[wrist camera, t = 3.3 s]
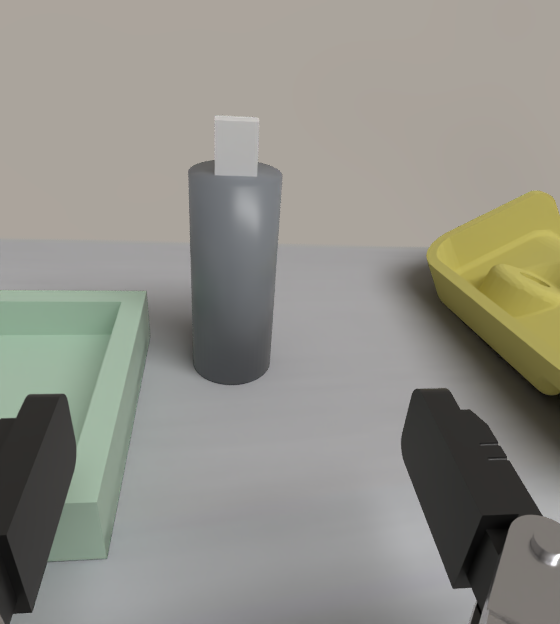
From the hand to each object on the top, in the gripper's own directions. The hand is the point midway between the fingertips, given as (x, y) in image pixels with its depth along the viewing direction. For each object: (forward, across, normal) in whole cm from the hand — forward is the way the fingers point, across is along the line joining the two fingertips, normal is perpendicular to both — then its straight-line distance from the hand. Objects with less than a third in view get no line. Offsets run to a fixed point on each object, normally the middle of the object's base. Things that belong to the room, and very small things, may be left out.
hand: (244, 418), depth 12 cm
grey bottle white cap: (+11, 0, +6) cm, 13 cm away
